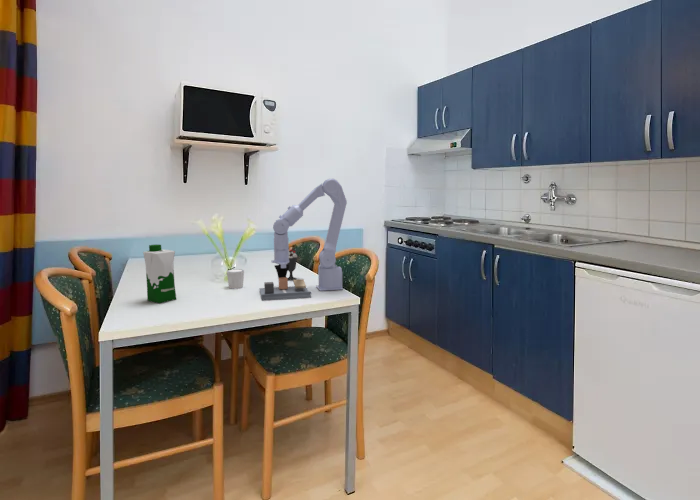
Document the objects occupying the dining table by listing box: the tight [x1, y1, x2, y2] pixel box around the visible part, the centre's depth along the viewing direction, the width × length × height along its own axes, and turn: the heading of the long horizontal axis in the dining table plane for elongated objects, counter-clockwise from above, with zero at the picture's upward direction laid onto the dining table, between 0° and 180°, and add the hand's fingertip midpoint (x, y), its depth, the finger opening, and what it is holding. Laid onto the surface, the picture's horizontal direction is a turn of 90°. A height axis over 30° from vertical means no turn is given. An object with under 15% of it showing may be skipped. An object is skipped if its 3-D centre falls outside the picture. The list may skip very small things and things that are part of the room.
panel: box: [259, 285, 312, 302], centre depth 166 cm, size 18×15×3 cm
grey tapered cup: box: [226, 268, 245, 290], centre depth 177 cm, size 7×7×7 cm
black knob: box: [263, 281, 275, 294], centre depth 160 cm, size 3×3×4 cm
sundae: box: [287, 245, 299, 281], centre depth 193 cm, size 7×7×15 cm
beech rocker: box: [292, 278, 307, 288], centre depth 168 cm, size 4×6×1 cm, turn 15°
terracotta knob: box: [278, 276, 289, 289], centre depth 169 cm, size 3×3×4 cm
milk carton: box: [142, 244, 177, 304], centre depth 156 cm, size 9×9×20 cm
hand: (282, 282), depth 173 cm, fingers closed
